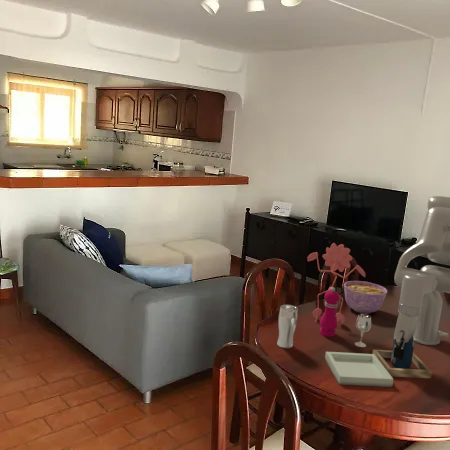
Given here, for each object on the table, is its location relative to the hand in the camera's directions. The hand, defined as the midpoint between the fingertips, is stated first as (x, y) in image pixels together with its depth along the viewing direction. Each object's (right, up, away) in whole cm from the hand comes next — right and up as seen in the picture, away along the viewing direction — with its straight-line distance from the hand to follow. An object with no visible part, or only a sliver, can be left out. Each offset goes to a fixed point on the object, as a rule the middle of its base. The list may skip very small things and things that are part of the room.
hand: (402, 354), depth 174 cm
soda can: (0, -5, +1) cm, 5 cm away
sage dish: (-18, -5, -6) cm, 20 cm away
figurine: (-18, +4, +40) cm, 44 cm away
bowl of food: (+2, +5, +56) cm, 57 cm away
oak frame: (0, -5, +1) cm, 5 cm away
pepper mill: (-22, +1, +25) cm, 33 cm away
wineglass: (-10, -1, +17) cm, 20 cm away
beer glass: (-41, 0, +11) cm, 42 cm away
